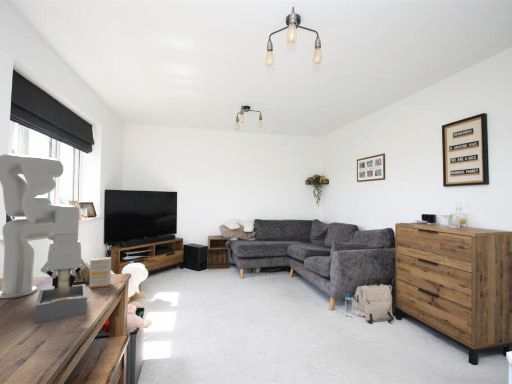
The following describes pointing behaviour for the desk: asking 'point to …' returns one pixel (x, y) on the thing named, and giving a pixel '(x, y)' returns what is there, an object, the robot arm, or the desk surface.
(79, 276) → the ceramic sculpture
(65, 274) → the peg
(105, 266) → the supplement box
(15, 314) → the desk surface
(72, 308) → the bore box
